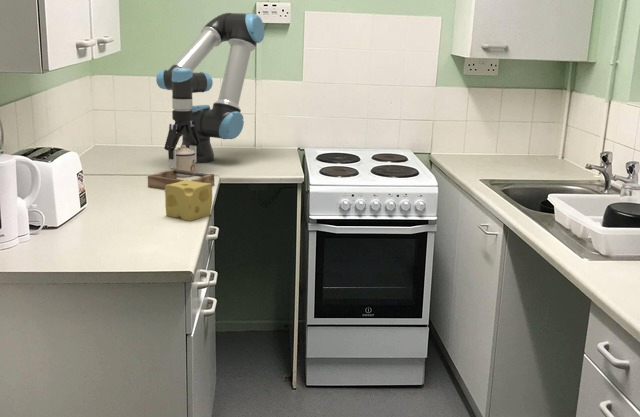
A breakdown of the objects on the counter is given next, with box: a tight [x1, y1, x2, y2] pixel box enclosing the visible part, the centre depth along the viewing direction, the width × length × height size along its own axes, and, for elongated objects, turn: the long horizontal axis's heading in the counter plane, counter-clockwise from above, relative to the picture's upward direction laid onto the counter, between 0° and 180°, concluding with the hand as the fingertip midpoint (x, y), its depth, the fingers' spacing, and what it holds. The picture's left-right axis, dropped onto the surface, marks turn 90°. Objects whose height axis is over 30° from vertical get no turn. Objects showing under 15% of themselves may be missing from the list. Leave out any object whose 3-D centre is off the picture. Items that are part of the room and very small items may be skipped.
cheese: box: [164, 179, 213, 222], centre depth 214 cm, size 10×11×10 cm
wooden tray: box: [147, 168, 215, 191], centre depth 252 cm, size 15×18×4 cm
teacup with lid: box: [172, 144, 196, 178], centre depth 270 cm, size 12×9×12 cm
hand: (183, 164), depth 270 cm, fingers open, 13 cm apart
